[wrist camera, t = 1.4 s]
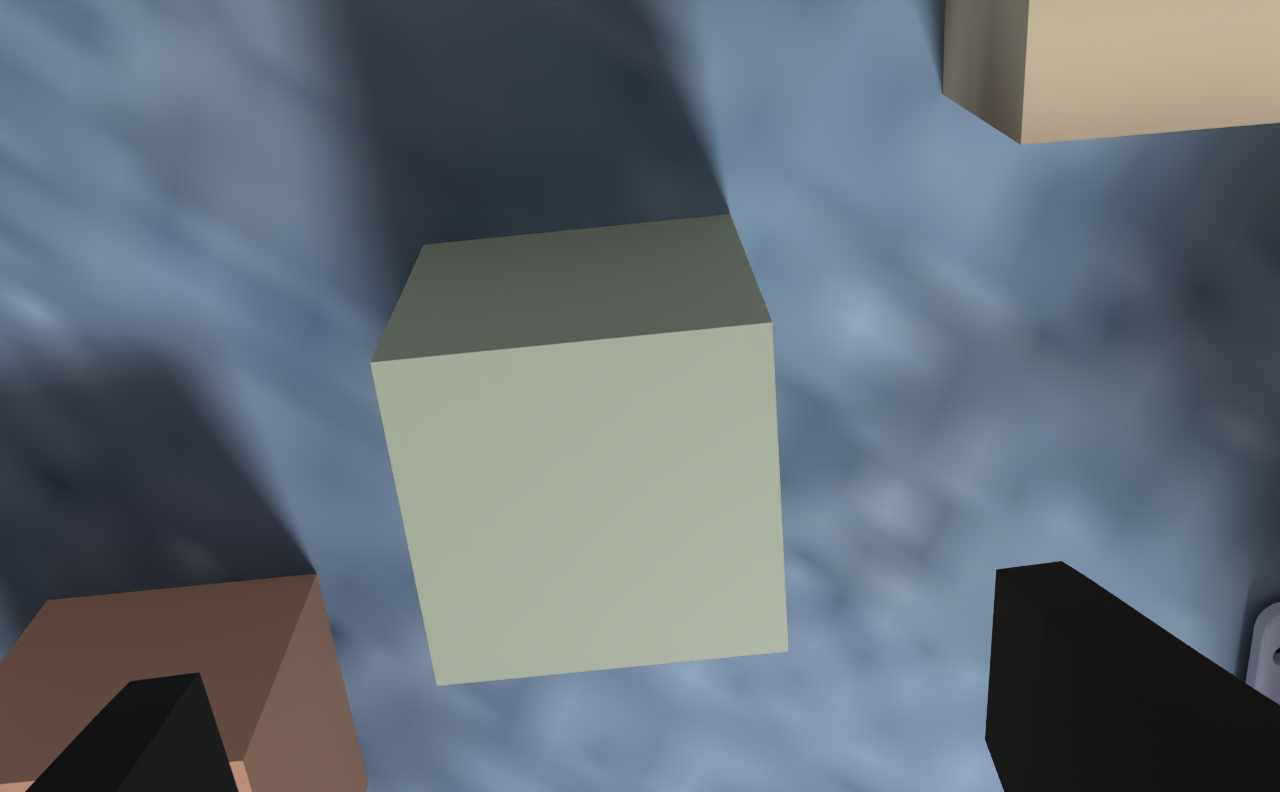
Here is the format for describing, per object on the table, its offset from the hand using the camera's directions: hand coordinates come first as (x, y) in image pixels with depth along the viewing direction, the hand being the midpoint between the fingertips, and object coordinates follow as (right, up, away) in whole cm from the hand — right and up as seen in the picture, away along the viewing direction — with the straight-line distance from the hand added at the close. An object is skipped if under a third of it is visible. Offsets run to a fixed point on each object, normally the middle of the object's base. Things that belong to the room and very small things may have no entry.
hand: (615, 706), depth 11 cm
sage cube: (-1, +3, +9) cm, 10 cm away
